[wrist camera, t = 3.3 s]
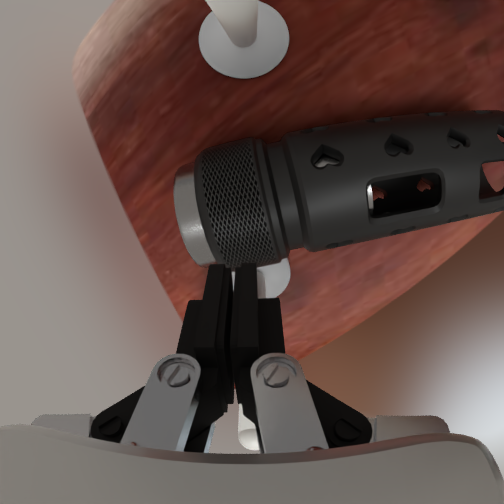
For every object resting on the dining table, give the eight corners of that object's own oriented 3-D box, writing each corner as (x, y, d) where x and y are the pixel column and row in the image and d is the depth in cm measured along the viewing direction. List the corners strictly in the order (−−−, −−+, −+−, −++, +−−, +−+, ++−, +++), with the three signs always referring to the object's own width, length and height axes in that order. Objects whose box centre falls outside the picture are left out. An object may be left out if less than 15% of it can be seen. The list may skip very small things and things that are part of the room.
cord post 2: (289, 235, 31) (321, 420, 14) (288, 292, 34) (307, 464, 18) (218, 237, 31) (183, 422, 14) (224, 293, 35) (205, 465, 18)
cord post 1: (285, 2, 19) (346, -128, 3) (288, 77, 23) (371, 72, 6) (200, 7, 20) (94, -104, 3) (204, 81, 23) (89, 91, 6)
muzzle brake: (471, 185, 27) (530, 229, 18) (218, 235, 31) (204, 304, 22) (469, 99, 22) (539, 119, 14) (188, 143, 26) (154, 179, 17)
